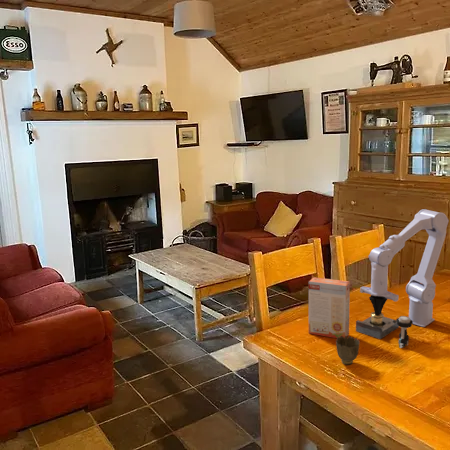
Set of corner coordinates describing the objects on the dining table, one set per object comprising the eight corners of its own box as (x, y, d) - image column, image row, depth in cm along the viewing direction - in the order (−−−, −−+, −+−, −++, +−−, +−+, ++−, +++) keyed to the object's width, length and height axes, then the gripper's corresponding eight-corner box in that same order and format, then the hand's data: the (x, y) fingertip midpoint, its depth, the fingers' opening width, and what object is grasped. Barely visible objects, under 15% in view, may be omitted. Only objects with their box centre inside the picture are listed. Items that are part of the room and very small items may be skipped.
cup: (355, 371, 144) (355, 347, 142) (332, 365, 147) (332, 342, 146) (361, 360, 150) (362, 338, 148) (339, 355, 154) (340, 333, 152)
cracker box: (349, 334, 169) (350, 280, 165) (345, 340, 164) (346, 285, 160) (313, 327, 176) (313, 276, 172) (308, 333, 171) (308, 280, 167)
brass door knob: (373, 325, 176) (374, 310, 175) (385, 328, 173) (385, 313, 172) (368, 329, 173) (368, 314, 172) (379, 332, 170) (380, 317, 169)
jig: (374, 320, 181) (375, 310, 180) (398, 327, 174) (399, 317, 173) (355, 331, 172) (356, 321, 171) (380, 339, 164) (380, 328, 164)
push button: (408, 351, 155) (409, 323, 153) (392, 347, 158) (393, 320, 156) (412, 343, 160) (414, 317, 158) (397, 339, 164) (398, 313, 161)
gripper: (356, 278, 171) (355, 312, 174) (392, 287, 161) (390, 323, 164) (366, 274, 176) (365, 307, 179) (401, 282, 165) (400, 317, 168)
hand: (378, 314), depth 171 cm, fingers closed
